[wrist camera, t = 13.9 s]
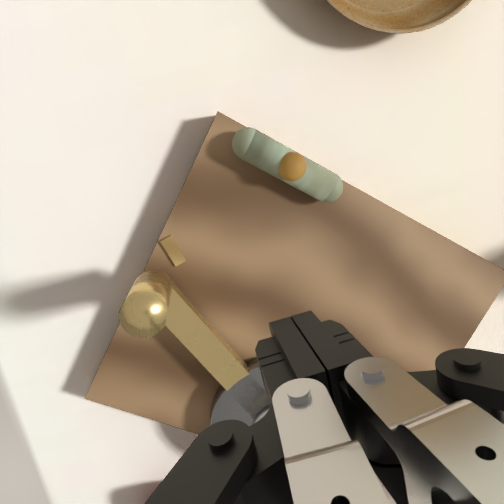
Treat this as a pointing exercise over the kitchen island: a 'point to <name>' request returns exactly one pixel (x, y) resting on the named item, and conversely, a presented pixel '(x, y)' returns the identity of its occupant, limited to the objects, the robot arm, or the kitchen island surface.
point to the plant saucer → (399, 13)
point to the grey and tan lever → (196, 345)
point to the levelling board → (290, 274)
